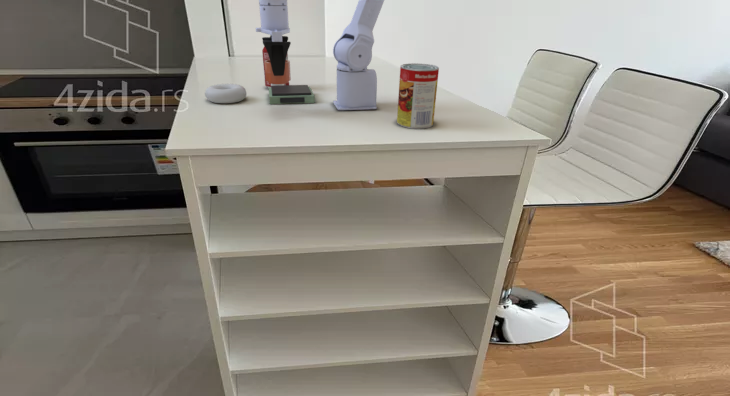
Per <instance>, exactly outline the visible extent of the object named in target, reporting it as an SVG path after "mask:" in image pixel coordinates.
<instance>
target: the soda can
mask: <svg viewBox="0 0 730 396" xmlns="http://www.w3.org/2000/svg"><path fill="white" fill-rule="evenodd" d="M288 53H289V51H288V52H287V56H286V60H289V54H288ZM266 60H270V58H269V55H268V52H267V50H266V48H265V46H264V45H263V48H262V65H263V76H264V86H265V87H266V88H268V89H269V87H271V86H276V85H290V82H289V83H286V84H270V83H268V81H266V75H265V62H264V61H266Z"/></svg>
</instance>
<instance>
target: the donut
mask: <svg viewBox="0 0 730 396" xmlns="http://www.w3.org/2000/svg"><path fill="white" fill-rule="evenodd" d="M204 97H205V98H206V100H208V101H209V102H212V103H215V104H235V103H239V102H241V101H243V100H245V99H246V97H247V89H246V88H245V87H244V86H243V85H240V84H237V83H217V84H213V85H210V86H207V87H206V89H205V90H204Z"/></svg>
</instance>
